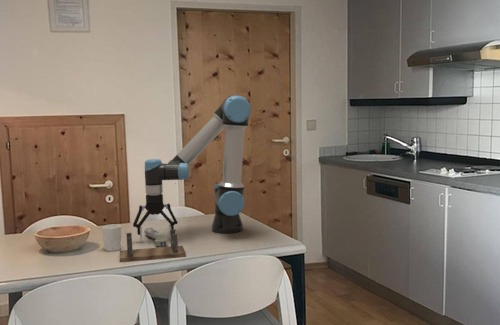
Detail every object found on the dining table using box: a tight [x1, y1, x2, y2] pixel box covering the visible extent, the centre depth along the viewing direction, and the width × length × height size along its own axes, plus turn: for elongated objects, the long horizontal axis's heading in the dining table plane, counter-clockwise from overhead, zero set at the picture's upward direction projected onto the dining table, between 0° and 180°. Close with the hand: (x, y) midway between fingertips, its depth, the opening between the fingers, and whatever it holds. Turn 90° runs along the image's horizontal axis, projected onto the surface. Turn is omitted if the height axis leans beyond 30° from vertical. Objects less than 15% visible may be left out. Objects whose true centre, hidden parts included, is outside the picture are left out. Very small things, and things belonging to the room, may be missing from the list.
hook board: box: [119, 229, 187, 263], centre depth 226 cm, size 26×12×9 cm, turn 103°
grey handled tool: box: [144, 227, 168, 248], centre depth 249 cm, size 5×7×25 cm
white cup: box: [101, 223, 122, 252], centre depth 236 cm, size 8×8×10 cm
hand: (156, 240), depth 249 cm, fingers open, 12 cm apart
